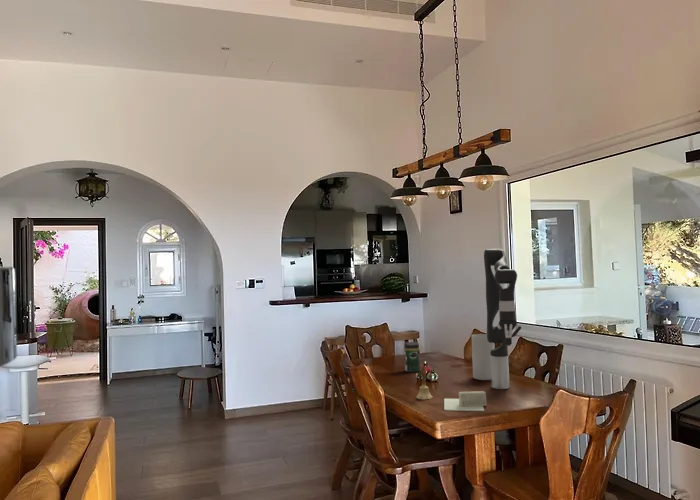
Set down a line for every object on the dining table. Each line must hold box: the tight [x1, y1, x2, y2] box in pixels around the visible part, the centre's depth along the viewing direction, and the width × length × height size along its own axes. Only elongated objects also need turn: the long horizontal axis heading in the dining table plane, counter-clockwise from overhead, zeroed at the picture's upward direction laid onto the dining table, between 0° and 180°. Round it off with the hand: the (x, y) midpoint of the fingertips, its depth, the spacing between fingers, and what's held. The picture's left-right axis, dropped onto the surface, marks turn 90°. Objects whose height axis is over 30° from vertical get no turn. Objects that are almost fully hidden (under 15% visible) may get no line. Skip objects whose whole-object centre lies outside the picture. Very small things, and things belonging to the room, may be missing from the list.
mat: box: [443, 398, 485, 412], centre depth 249 cm, size 20×18×1 cm
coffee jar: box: [403, 341, 421, 373], centre depth 332 cm, size 10×8×19 cm
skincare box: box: [458, 390, 487, 407], centre depth 247 cm, size 6×4×12 cm
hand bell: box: [415, 365, 433, 400], centre depth 265 cm, size 8×8×16 cm
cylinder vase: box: [471, 333, 495, 381], centre depth 306 cm, size 12×12×25 cm
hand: (508, 345), depth 254 cm, fingers closed
